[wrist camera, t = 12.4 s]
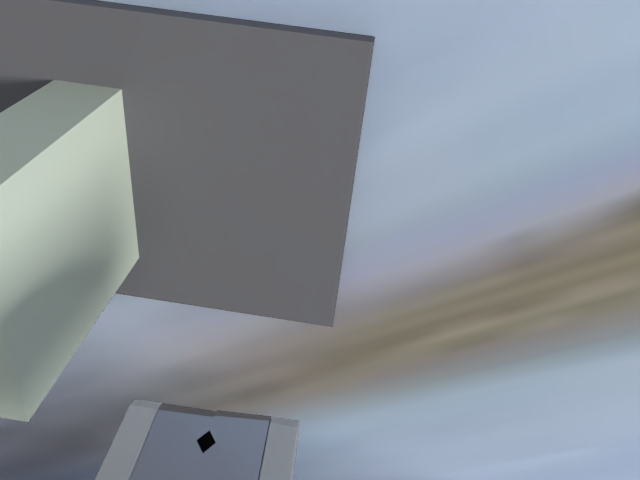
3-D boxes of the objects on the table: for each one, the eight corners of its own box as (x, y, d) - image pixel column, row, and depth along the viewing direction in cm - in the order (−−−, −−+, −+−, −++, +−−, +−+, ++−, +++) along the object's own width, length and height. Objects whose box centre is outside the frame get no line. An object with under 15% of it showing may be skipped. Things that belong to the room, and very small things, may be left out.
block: (121, 89, 16) (-35, 212, 10) (139, 257, 20) (28, 422, 14) (54, 79, 16) (-138, 197, 11) (83, 249, 20) (-51, 409, 14)
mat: (374, 36, 15) (373, 42, 15) (334, 315, 21) (332, 327, 20) (-122, -28, 16) (-139, -25, 15) (-32, 259, 21) (-42, 269, 21)
